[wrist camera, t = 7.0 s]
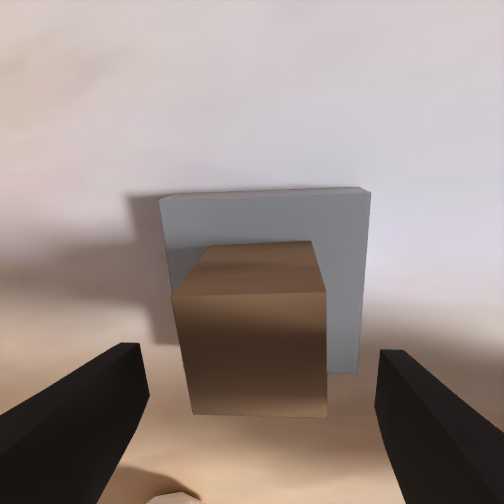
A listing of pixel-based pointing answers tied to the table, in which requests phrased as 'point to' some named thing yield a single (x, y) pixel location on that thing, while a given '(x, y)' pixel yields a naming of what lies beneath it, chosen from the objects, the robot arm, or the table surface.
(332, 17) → the table surface
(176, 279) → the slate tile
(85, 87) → the table surface
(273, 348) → the walnut block
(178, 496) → the geometric ball
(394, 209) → the table surface
